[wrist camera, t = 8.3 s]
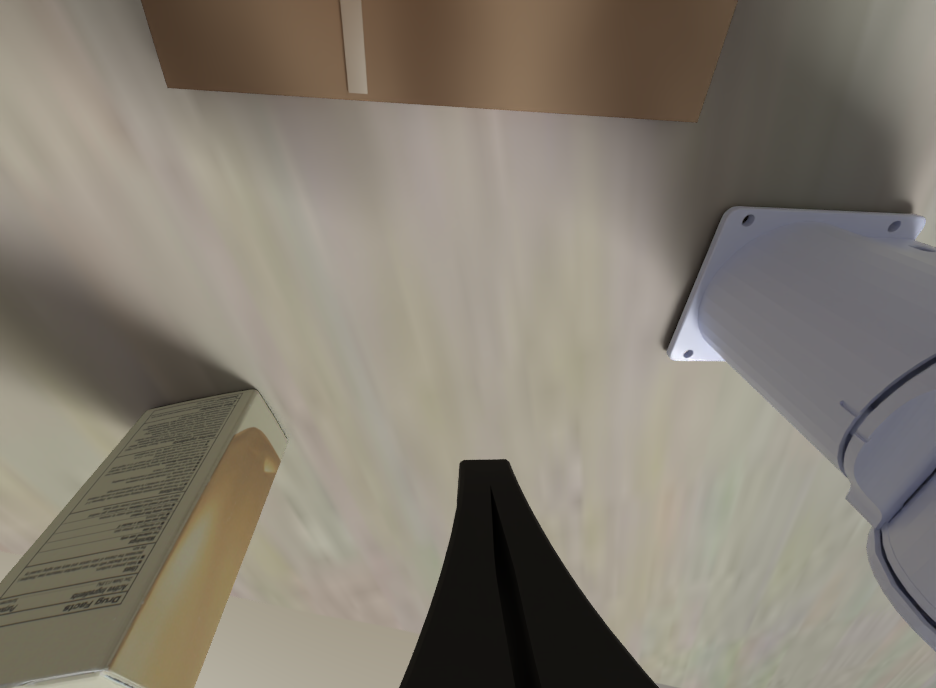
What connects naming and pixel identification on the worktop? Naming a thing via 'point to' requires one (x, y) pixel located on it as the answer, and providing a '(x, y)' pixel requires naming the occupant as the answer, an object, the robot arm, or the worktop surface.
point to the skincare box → (143, 552)
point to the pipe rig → (452, 52)
